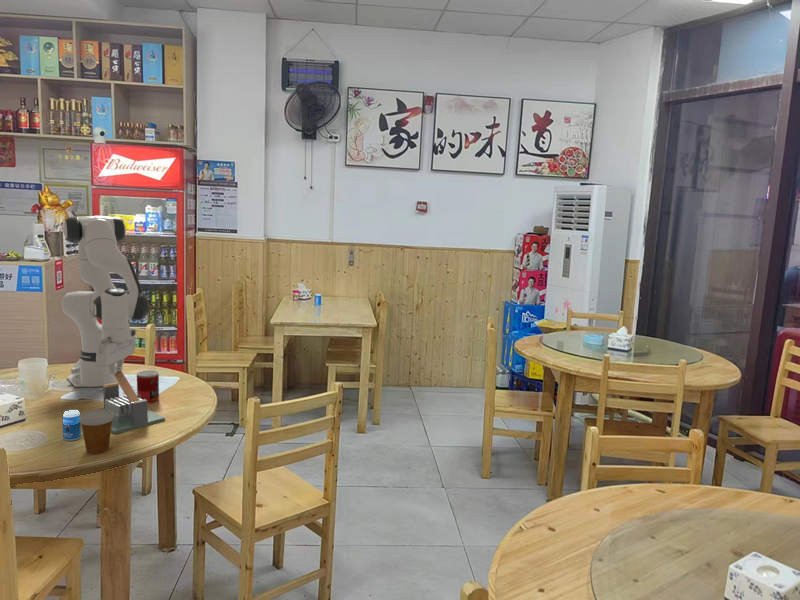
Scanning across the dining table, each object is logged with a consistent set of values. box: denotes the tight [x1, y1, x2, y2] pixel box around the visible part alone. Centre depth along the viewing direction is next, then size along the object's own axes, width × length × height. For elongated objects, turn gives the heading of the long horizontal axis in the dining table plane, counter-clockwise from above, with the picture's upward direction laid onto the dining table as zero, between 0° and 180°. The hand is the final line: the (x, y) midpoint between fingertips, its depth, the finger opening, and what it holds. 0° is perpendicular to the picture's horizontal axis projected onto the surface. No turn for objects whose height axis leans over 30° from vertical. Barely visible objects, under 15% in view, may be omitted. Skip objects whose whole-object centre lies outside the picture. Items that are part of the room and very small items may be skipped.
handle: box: [113, 370, 140, 403], centre depth 209 cm, size 17×3×2 cm
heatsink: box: [105, 394, 142, 423], centre depth 211 cm, size 10×10×6 cm
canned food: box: [136, 370, 160, 404], centre depth 231 cm, size 8×8×11 cm
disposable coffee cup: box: [78, 408, 114, 455], centre depth 184 cm, size 10×10×12 cm
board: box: [101, 381, 166, 435], centre depth 211 cm, size 24×18×11 cm
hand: (116, 372), depth 210 cm, fingers open, 2 cm apart
